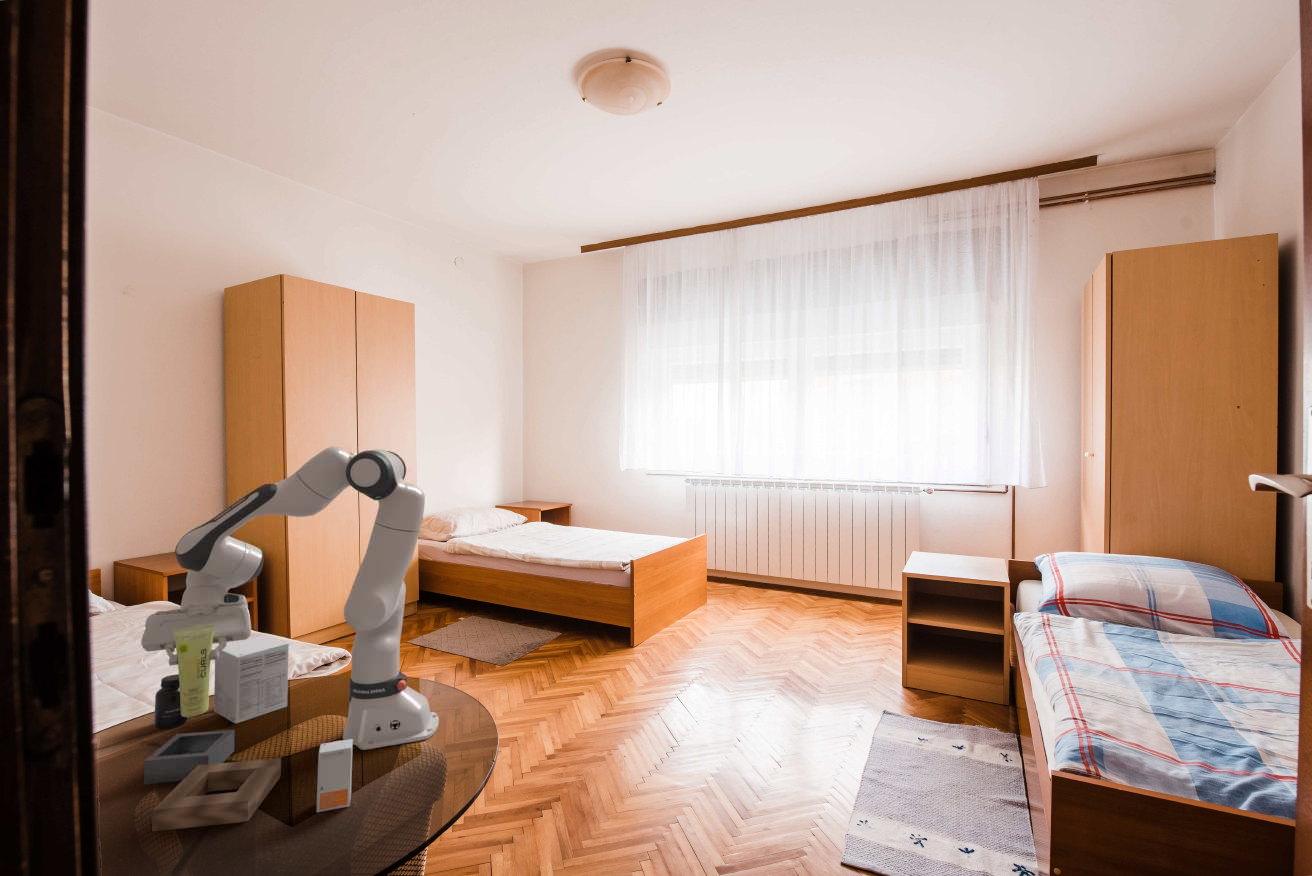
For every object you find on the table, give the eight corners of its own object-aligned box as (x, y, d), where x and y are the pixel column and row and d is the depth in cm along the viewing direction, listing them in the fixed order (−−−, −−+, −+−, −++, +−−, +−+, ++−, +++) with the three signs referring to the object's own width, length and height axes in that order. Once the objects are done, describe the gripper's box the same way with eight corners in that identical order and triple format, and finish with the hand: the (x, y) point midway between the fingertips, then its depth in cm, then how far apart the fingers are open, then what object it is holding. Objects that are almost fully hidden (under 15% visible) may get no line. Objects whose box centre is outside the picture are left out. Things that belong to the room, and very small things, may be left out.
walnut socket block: (280, 776, 132) (281, 758, 132) (247, 821, 116) (248, 800, 116) (197, 784, 128) (198, 765, 128) (152, 831, 113) (152, 809, 113)
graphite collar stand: (234, 750, 142) (234, 729, 142) (207, 778, 130) (208, 755, 130) (176, 755, 139) (176, 734, 140) (143, 784, 128) (144, 760, 128)
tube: (188, 720, 131) (189, 631, 132) (171, 717, 133) (172, 629, 133) (214, 709, 137) (215, 623, 137) (198, 706, 138) (199, 621, 138)
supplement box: (288, 706, 166) (290, 643, 166) (235, 724, 155) (236, 657, 155) (265, 695, 173) (266, 634, 174) (212, 711, 162) (213, 647, 162)
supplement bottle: (168, 731, 151) (170, 683, 151) (147, 728, 152) (148, 681, 152) (194, 719, 158) (196, 673, 158) (173, 716, 159) (174, 671, 159)
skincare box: (316, 814, 119) (317, 753, 119) (318, 802, 122) (319, 743, 123) (350, 807, 121) (351, 747, 121) (351, 795, 125) (353, 737, 125)
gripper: (145, 605, 137) (131, 662, 128) (252, 595, 146) (246, 647, 137) (150, 619, 141) (137, 675, 132) (255, 608, 150) (249, 660, 141)
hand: (193, 661), depth 135 cm, fingers closed on tube, 6 cm apart
